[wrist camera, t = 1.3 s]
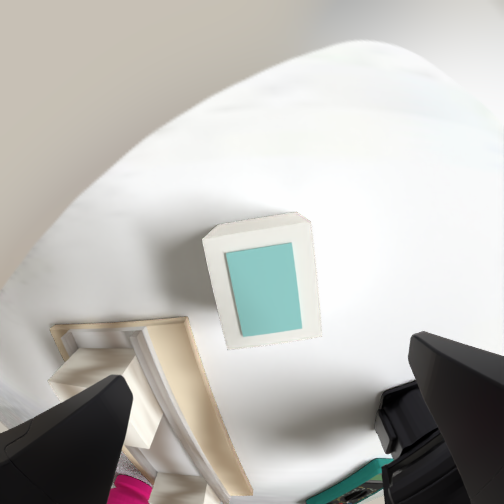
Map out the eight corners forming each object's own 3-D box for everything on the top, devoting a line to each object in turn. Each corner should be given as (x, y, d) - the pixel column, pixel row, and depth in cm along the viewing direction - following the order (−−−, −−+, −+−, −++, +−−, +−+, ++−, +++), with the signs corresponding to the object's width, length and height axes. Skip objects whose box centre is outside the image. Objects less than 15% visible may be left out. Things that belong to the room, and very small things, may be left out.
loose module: (296, 211, 17) (311, 222, 12) (307, 299, 18) (322, 338, 13) (218, 224, 17) (201, 239, 12) (235, 309, 19) (227, 351, 14)
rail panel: (187, 316, 19) (158, 372, 12) (253, 489, 25) (251, 528, 19) (55, 324, 20) (13, 359, 13) (157, 483, 26) (147, 516, 20)
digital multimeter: (302, 499, 27) (303, 513, 24) (376, 454, 24) (382, 471, 21) (335, 501, 28) (338, 514, 25) (406, 457, 24) (412, 472, 22)
